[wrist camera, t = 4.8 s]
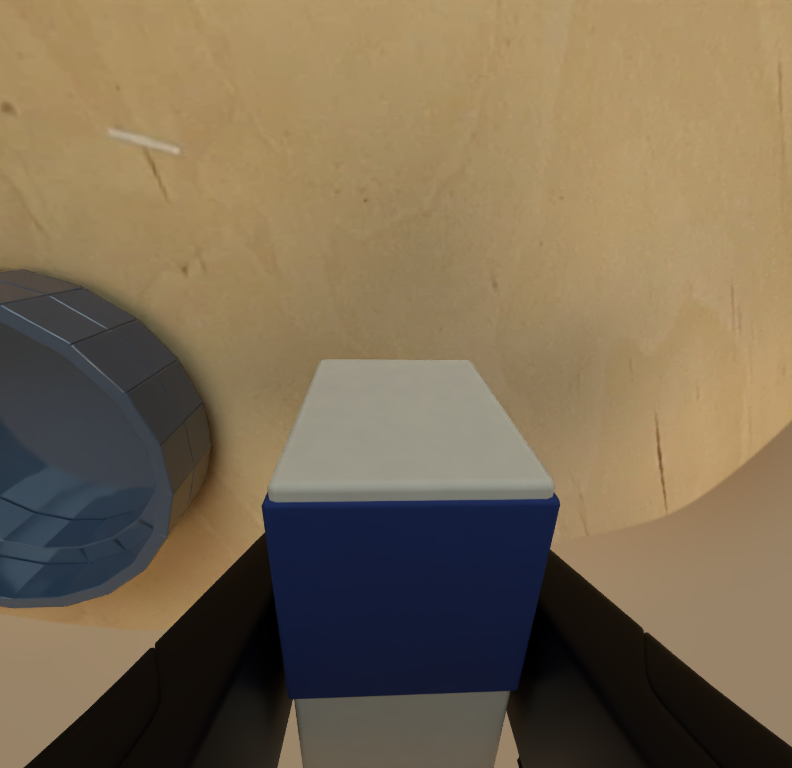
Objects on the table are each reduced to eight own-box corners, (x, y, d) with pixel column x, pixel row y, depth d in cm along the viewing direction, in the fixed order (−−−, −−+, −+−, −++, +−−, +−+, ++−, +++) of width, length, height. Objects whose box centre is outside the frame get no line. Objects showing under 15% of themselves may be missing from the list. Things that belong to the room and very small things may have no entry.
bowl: (235, 530, 22) (201, 602, 17) (-29, 537, 21) (-130, 614, 17) (183, 267, 16) (117, 281, 12) (-172, 267, 16) (-371, 282, 12)
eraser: (450, 577, 10) (495, 793, 6) (330, 580, 10) (300, 803, 6) (473, 357, 8) (566, 486, 4) (317, 356, 8) (257, 489, 4)
